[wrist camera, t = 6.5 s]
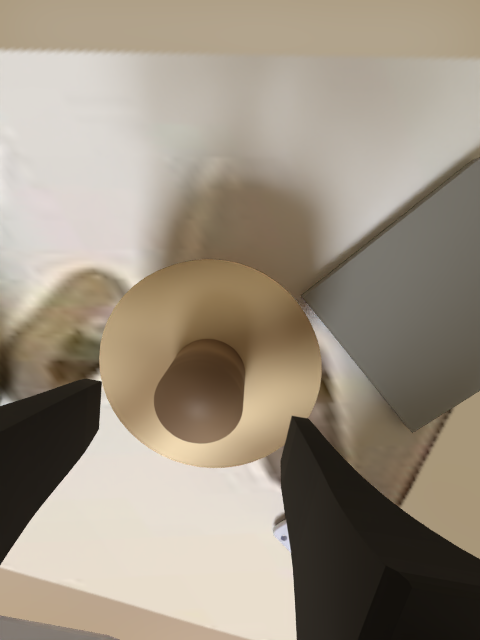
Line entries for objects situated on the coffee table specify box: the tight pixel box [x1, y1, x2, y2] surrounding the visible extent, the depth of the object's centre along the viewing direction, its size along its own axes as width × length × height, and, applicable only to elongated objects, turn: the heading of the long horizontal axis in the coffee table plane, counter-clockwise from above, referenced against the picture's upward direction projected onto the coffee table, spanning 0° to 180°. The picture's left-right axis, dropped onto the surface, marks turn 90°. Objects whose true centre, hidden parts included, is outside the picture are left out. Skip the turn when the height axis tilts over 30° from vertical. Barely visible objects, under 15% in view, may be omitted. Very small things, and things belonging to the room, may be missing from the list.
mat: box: [301, 157, 480, 433], centre depth 19 cm, size 12×12×1 cm
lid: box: [99, 259, 321, 468], centre depth 14 cm, size 11×11×4 cm
